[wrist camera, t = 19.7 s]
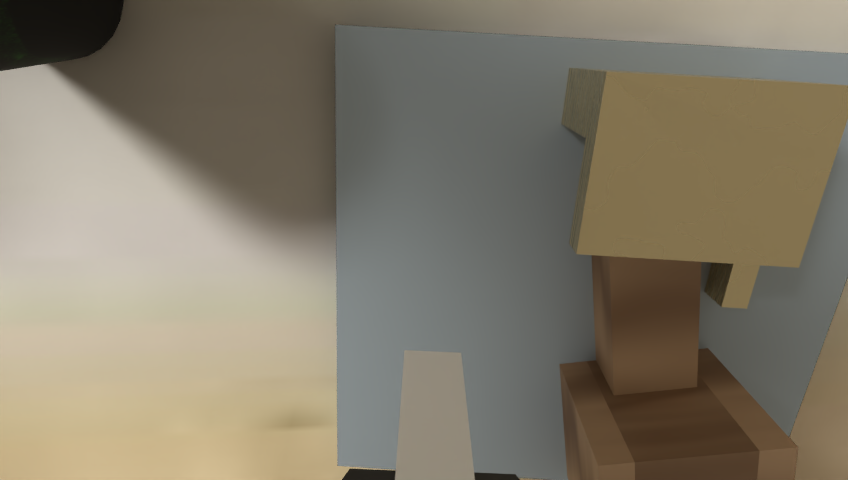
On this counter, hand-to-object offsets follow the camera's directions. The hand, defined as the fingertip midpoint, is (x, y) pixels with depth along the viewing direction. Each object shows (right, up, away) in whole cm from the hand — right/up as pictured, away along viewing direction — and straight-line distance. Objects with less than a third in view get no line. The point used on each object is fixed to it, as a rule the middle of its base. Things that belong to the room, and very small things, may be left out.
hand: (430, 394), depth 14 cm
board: (+7, +2, +9) cm, 11 cm away
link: (+9, 0, +8) cm, 12 cm away
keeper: (+9, +6, +6) cm, 12 cm away
